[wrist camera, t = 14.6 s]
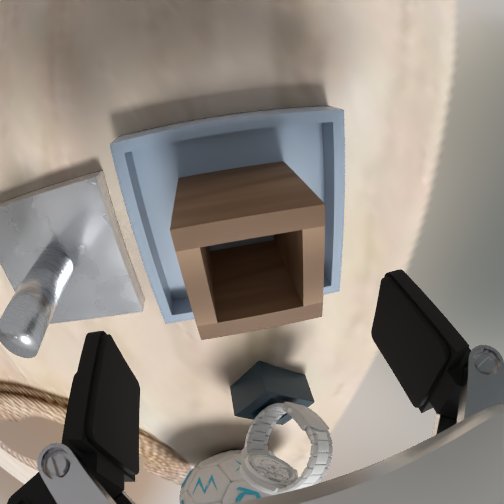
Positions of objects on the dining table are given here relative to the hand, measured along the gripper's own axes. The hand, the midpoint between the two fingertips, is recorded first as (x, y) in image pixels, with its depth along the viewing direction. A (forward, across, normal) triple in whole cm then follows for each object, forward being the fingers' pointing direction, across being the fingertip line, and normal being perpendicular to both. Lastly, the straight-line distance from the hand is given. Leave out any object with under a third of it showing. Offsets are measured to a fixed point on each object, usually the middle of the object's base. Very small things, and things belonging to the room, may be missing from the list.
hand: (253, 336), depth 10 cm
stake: (+10, +10, 0) cm, 14 cm away
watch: (+10, -2, +17) cm, 19 cm away
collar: (+9, -1, 0) cm, 9 cm away
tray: (+9, -1, 0) cm, 9 cm away
